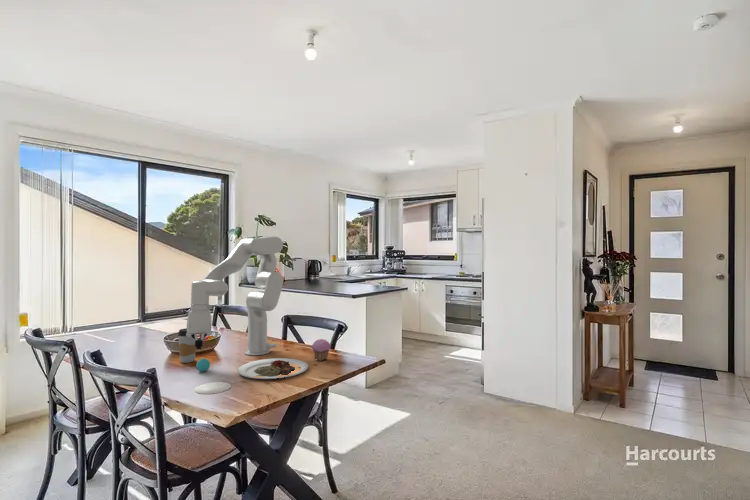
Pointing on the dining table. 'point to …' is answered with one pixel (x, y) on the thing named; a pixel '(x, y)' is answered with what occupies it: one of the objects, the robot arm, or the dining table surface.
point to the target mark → (212, 388)
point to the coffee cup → (186, 347)
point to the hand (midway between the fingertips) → (198, 348)
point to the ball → (203, 365)
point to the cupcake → (321, 349)
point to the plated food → (271, 368)
